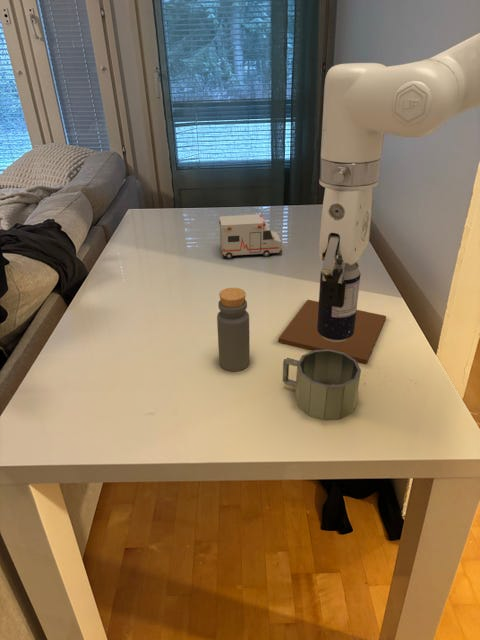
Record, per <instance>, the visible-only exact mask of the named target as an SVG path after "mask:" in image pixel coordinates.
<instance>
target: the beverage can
mask: <svg viewBox="0 0 480 640" xmlns="http://www.w3.org/2000/svg"><path fill="white" fill-rule="evenodd" d="M336 259H338V260H343V259H342V258H338V257H336ZM340 266H341V265H338V264H335V269H338V271H339V272H340ZM322 278H323V271H322V269H320V277H319V292H318V293H319V294H318V302H319V307H318V323H317V331H318V333H319V334H320V335H321V336H322V337H323V338H324V339H326V340H328V341H331V342H342V341H345V340H347V339H348V338H349V337H351V336H352V335H353V334H354V329H355V320H356V311H357V310H358V303H359V302H358V301H359V292H360V285H361V284H360V283H361V272H360V269H359V263H358V261H357V262H356V263H354V264H353V265H349V263H347V264H346V270H345V276H344V281H346V287H345V298H344V305H343V307H342V308H339V307H334V306H329V305H324V304H322V303H321V296H322V281H323V280H322Z"/></svg>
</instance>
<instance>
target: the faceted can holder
mask: <svg viewBox="0 0 480 640" xmlns="http://www.w3.org/2000/svg"><path fill="white" fill-rule="evenodd" d="M358 363H359V362H357V361H356V360H355V359H353V358H352V357H350V356H349V355H347V354H346V353H343V352H339V351H335V350H331V349H330V350H329V349H325V350H313V351H312V350H310V351H309V352H306V353H305V354H303V355H302V356H301V357H300V358H299V360H298V359H294V358H290V357H286V358H285V359H283V362H282V382H283V383H284V385H286V386H290V387H293V388H295V393H294V396H295V400H296V404H297V407H298V408H299V409H300V410H301V411H302V412H303V413H305V414H306V415H307V416H308V417H313V418H315V419H319V420H322V421H335V420H336V421H337V420H342V419H344V418H345V417H348V416H350V415H351V414H352V413H353V411H354V410H355V407H356V404H357V400H358V394H359V386H360V380H361V373H362V369H361V367H360V365H359V364H358ZM290 366H292V367H296V377H295V378H296V379H295V380H293V379H290V378H289V376H290V375H289V373H290Z"/></svg>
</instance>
